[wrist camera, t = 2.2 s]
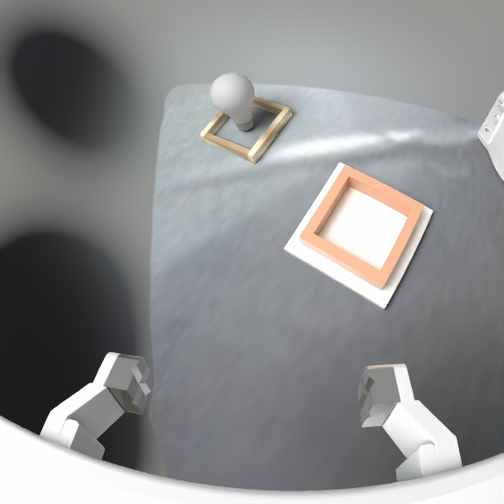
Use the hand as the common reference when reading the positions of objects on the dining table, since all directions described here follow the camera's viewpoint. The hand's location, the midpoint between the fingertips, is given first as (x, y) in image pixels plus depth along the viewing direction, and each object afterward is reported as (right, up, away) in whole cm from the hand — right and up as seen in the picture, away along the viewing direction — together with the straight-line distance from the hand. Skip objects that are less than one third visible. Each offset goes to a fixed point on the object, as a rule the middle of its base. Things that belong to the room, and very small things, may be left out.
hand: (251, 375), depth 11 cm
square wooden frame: (-1, +24, +36) cm, 43 cm away
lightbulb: (-1, +24, +36) cm, 43 cm away
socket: (+14, +7, +27) cm, 31 cm away
